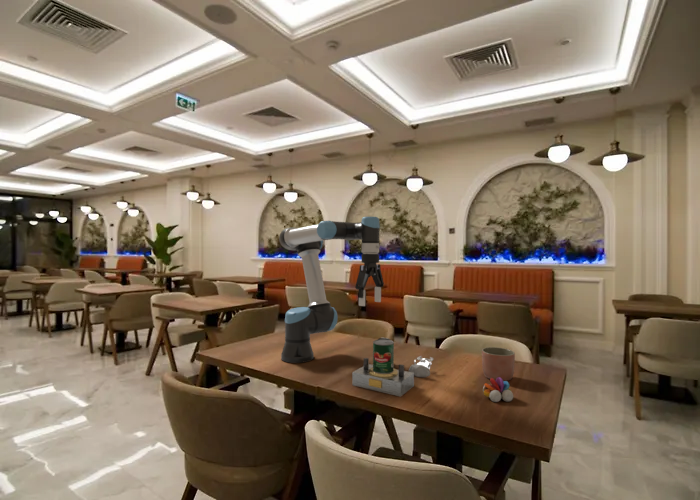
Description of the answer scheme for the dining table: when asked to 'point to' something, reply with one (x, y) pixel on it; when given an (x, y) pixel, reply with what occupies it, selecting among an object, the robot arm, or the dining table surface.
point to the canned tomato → (383, 356)
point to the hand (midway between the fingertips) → (370, 303)
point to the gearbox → (383, 379)
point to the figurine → (421, 367)
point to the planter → (498, 363)
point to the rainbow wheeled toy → (498, 390)
